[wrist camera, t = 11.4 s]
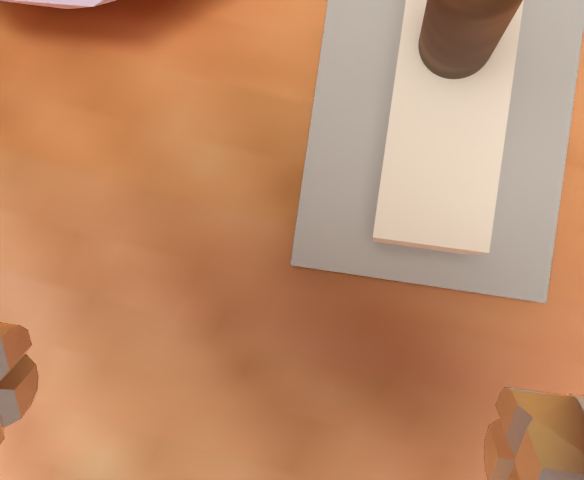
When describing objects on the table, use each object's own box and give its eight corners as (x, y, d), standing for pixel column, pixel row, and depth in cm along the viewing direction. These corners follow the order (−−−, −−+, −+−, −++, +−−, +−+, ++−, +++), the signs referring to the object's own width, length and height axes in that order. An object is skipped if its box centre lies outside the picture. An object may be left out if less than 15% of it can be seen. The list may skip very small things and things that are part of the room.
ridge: (293, 265, 30) (268, 267, 23) (344, -95, 30) (335, -200, 23) (540, 301, 28) (595, 316, 21) (593, -89, 28) (665, -204, 21)
